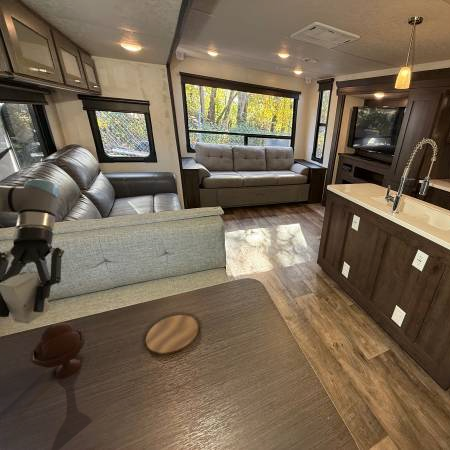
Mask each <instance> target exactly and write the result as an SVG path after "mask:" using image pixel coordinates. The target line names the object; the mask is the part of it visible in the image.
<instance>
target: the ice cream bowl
mask: <svg viewBox="0 0 450 450" xmlns="http://www.w3.org/2000/svg"><path fill="white" fill-rule="evenodd" d="M85 344H86V339H85V334H84V331H83V330H79V329H74V328H73V326H72V324H70V323H69V322H57V323H54V324H52V325H49V327H47V328H46V329H44V332H43V333H42V334H41V336H40V339H39V341H37V342H36V344H35V346H34V347H33V348H32V350H31V351H30V363H32V364H34V365H36V366H38V367H39V366H40V367H43V368H47V369H49V368H54V367H57V368H56V369H55V377H56V378H59V379H63V378H66V377H70V376H71V375H73V374H75V373H76V372H78V370H79V369H80V367H81V365H82V364H81V363H82V362H81V361H80V360H79V359H75V358H76V357H77V356H78V355H79V354H80V352H81V351H82V349H83V348H84V346H85Z"/></svg>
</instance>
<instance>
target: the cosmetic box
mask: <svg viewBox="0 0 450 450" xmlns="http://www.w3.org/2000/svg"><path fill="white" fill-rule="evenodd" d="M40 284H41V281H40V278H39V274H38V273H35V272H28V271H22V272H20V273H19V274H18V275H16V276H13V277H11V278H9V279H7V280H5V281H3V282H1V283H0V292H1V294H2V296H3V298H4V301H5V303H6V305H7V307H8V309H9V311H10V312H9V314H10V316H11V317H12V320H13V322H16V323H21V324H28V325H29V324H30V323H32V322H33V321H35V320H36V319H38V318H40V317H41V316H42V315H44V314H46V313H47V312H48V311H50V310H51V306H50V303H49V300H48V298H45V303H44V309H43V312H33V309H34V303H35V296H36V290H37V286H42V285H40Z"/></svg>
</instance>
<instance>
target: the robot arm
mask: <svg viewBox="0 0 450 450" xmlns="http://www.w3.org/2000/svg"><path fill="white" fill-rule="evenodd" d="M59 193H60V189H59V186H57V185H56V183H54V182H51V181H49V180H46V179H39V178H34V179H28V180H26V181H24V184H23V186H10V185H0V213H18V215H17V220H16V225H15V231H14V236H13V238H12V243H13V245H12V246H11V248H10V249H9V250H6V251H3V252H2V251H0V283H1V282H3V281H5V280H7V279H9V278H11V277H13V276H16V275H18V274H20V273H22V272H21V271H22V270H23V268H25V267H26V266H27V264H30V263H34V264H35V267H36V270H37V275H38V277H39V280H40V282H41V284H40V285H42V286H37V290H36V296H35V303H34V309H33V312H43V309H44V303H45V298H47V299H49V298H50V295H51V288H52V286H54V285H56V284H59V283H61V280H62V257H63V255H64V253H65V250H64V249H62V248H60V247H53V246H52V243H53V240H54V239H53V238H54V230H55V224H56V223H55V222H56V214H57V210H58V204H59V201H60V199H59ZM49 255H51V257H50V258H51V260H50V272H49V269H48V265H47V264H48V261H47V259H46V258H47V256H49ZM11 257H13V259H12V260H11ZM9 260H11V263H10V261H9ZM9 263H10V266H9ZM8 266H9V268H8ZM9 316H10V311H9V309H8V307H7V305H6V303H5V301H4V298H3V296H2V294H1V292H0V318H8V317H9Z"/></svg>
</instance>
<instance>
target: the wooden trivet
mask: <svg viewBox="0 0 450 450" xmlns="http://www.w3.org/2000/svg"><path fill="white" fill-rule="evenodd" d="M198 333H199V324H198V321H197V320H196V319H195V318H193V317H192V316H189V315H186V314H185V315H183V314H179V315H172V316H168V317H166V318H163V319H161V320H159V321H158V322H157V323H155V324H154V325H153V326H152V327H151V328H150V329H149V330H148V333H147V334H146V337H145V343H146V347H147V349H148V350H149V351H150V352H151V353H153V354H155V355H170V354H171V355H172V354H174V353H178V352H180V351H182V350H184V349H185V348H187V347H189V345H191V344H192V343H193V341H195V339H196V338H197V336H198V335H199V334H198Z"/></svg>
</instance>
